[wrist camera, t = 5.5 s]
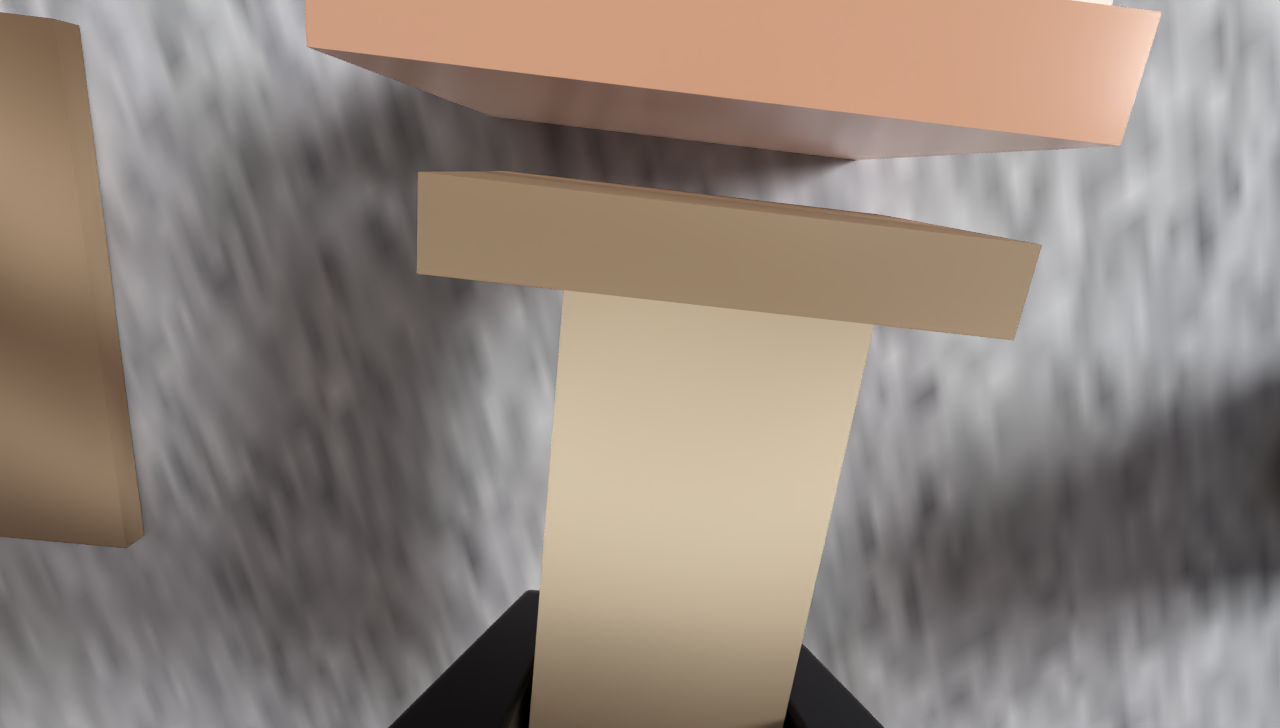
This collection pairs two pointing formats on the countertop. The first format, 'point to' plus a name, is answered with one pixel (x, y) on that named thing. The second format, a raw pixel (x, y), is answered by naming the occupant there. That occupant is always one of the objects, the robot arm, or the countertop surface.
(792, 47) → the tile
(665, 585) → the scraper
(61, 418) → the trivet
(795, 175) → the countertop surface
